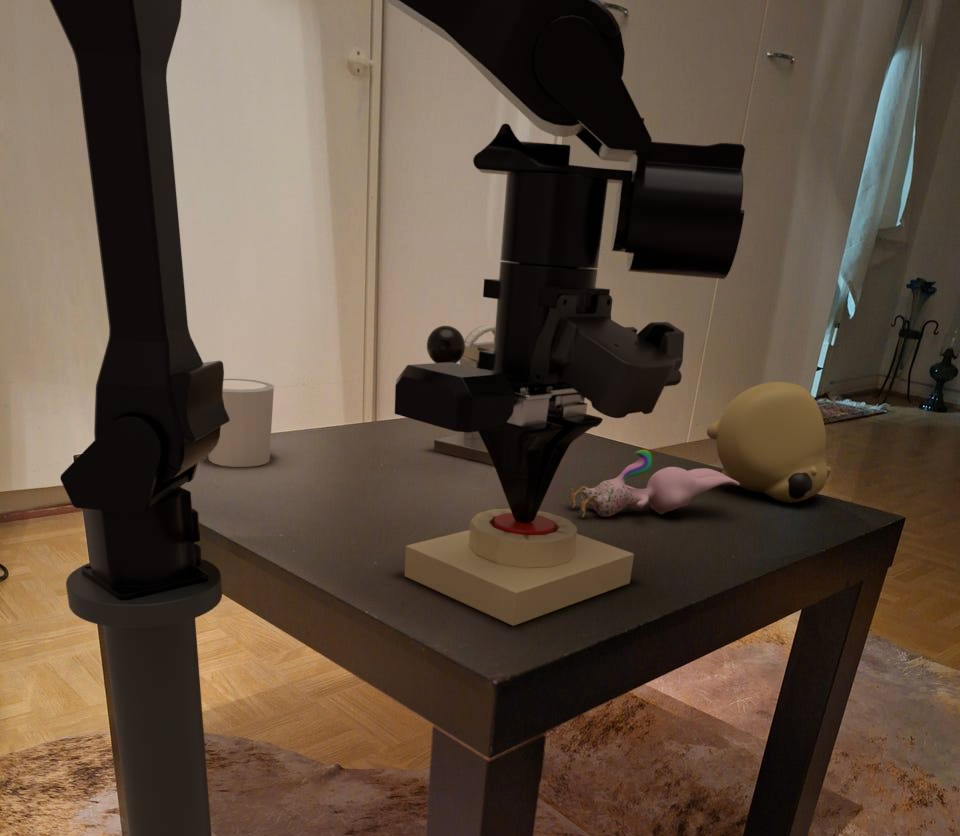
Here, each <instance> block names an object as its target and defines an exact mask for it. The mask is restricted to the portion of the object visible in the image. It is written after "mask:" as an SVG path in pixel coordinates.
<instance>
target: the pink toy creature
mask: <svg viewBox="0 0 960 836" xmlns="http://www.w3.org/2000/svg"><path fill="white" fill-rule="evenodd" d="M634 454H636V455H637V456H638V457H639V459H637V461H635V462H633V463H631V464H629V465H627V466H626V467H625V468H624V469H623V470H622V472H620V473H619V475H618V476H616V477H615V478H612V479H611V478H610V479H606V480H603V481H601V482H600V483H599V484H598V485H596V486H594V487H592V488H590V487H587V486H585V485H582V486H581V487H579V488H578V490H576V491H574V489H573V488H570V490H571V491H572V492H571V494H570V502H569V504H570V505H572V507H571V509H574V508H575V507H576V504H577V503H576V499H577V498H578V495H580V494H583V495H584V496H580V498H581V501H580V510H579V512H582V513H583V514H582V516H581V518H582V519H583V518H584V517H585V515H586V508H587V506H588V507H589V508H590V509H592V510H594V511H595V512H596V514H597V515H598V516H600V517H604V518H608V517H613V515H615V514H617V513H619V512H621V511H622V510H623V509H629V510H632V509H636V508H643V507H644V506H646V505H647V504H648V502H649V507H650V509H652V510H654V511H655V512H656V513H658V514H659V515H663V514H665V513H668V512H671V511H675V510H677V509H679V508H683V507H686V506H687V505H689V503H690V502H691V501H692V499H694V497H695V496H697V495H699V494H702V493H704V492H707V491H708V490H712V489H713V488H716V487H718V486H721V485H723V484H725V483H727V484H732V486H738V487H740V486H739V485H740V483H739V482H737V481H735V480H733V479H731V478H729V477H728V476H726V475H724V474H722V472H720V471H718V470H715V469H711V468H707V467H705V468H703V467H702V468H700V467H699V468H693V469H689V470H686V469H684V468H682V467H679V466H668V467H664V468H661V469H659V470H657V471H656V472H654V473H653V474H652V476H650V478H649V480H648V482H647V484H646V487H645V488H636V487H633V486H630V485H627V484H625V483H626V480H627V479H628V478H632V477H640V476H644V475H645V474H646V473H648V472H649V471H650V470H651V469H652V465H653V460H654V459H653V456H652V454H651V452H650V450H647V449H639V450H637V451H635V452H634ZM584 497H585V499H584Z"/></svg>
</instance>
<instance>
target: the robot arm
mask: <svg viewBox="0 0 960 836" xmlns="http://www.w3.org/2000/svg"><path fill="white" fill-rule="evenodd" d="M384 1H385V2H386V3H389V4H390V5H392V6H393V7H394V8H396V9H398V10H399V11H401V12H402V13H404V14H405V15H406V16H409V17H410V18H411V19H413V20H415V21H416V22H418V23H419V24H420V25H422V26H424V27H425V28H427V29H428V30H430V31H431V32H433V33H435V34H436V35H438V36H439V37H441V38H442V39H443V40H445V41H446V42H448V43H450V44H451V45H452V46H453V47H454V48H455V49H456V50H457V51H458V52H459V53H460V54H461V55H462V56H463V57H465V58H466V59H467V60H468V61H469V62H470V64H472V65H473V67H475V69H476V70H477V71H478V72H479V73H480V74H481V75H483V77H484V78H485V79H486V80H487V81H488V82H489V83H490V84H491V85H492V86H493V87H494V88H495V89H496V90H497V91H498V92H499V93H500V94H501V95H502V96H503V97H504V98H506V100H507V101H508V102H509V103H510V104H512V105H513V106H514V107H515V108H516V109H517V110H518V111H519V112H520V113H521V114H522V115H523V116H524V117H525V118H526V119H527V120H528V121H530V122H531V123H532V124H533V125H534V126H535V127H536V128H538V129H539V130H540V131H542V132H544V133H547V134H549V135H552V136H554V137H559V138H560V137H561V138H568V137H572V136H575V137H576V138H577V139H578V140H579V141H580V142H581V143H582V144H584V145H585V146H586V147H587V148H588V149H589V151H591V152H592V153H593V154H594V155H596V157H598V159H600V160H602V161H606V162H607V161H609V162H623V163H629V164H630V165H629V170H628V169H617V168H604V167H603V168H602V167H592V166H584V165H583V166H582V165H573V164H570V159H571V158H570V157H571V145H570V144H562V143H561V144H560V143H546V142H535V141H521V140H519V138H518V137H517V136H516V135H515V133H514V131H513V129H512V127H511V125H510V124H509V123H503V124H501V126H500V128H499V130H498V132H497V133H496V135H495V137H494V138H493V139H492V140H491V141H490V142H489V143H488V144H486V146H485V147H484V148H483V149H481V150H480V151H479V152H477V153H476V154H475V155H474V156H473V158H472V159H473V160H472V162H473V166H474V167H475V169H477V170H478V171H479V172H480V173H482V174H483V173H484V174H490V175H491V174H492V175H503V176H504V175H505V176H506V181H505V195H504V196H505V197H504V207H503V221H502V233H501V246H500V247H501V249H500V259H499V260H500V262H499V272H498V273H499V275H498V278H484V279H483V289H482V297H483V298H487V299H494V300H496V301H497V302H496V314H495V338H494V337H493V342H494V350H492V351H479V363H478V368H475V367H470V366H466V365H461V364H460V363H452V362H446V363H435V362H432V363H431V362H430V363H418V364H407V365H406V366H405V367H404V369H403V370H402V372H401V373H400V374H399V375H398V376H397V378H396V381H395V386H394V387H395V389H394V390H395V391H394V415H397V416H401V417H404V418H408V419H411V420H413V421H417V422H420V423H421V422H422V423H425V424H428V425H432V426H435V427H439V428H441V429H446V430H450V431H453V432H457V433H458V432H459V433H465V432H477V431H478V432H479V434H480V436H481V438H482V440H483V442H484V444H485V446H486V449H487V451H488V453H489V455H490V457H491V459H492V462H493V464H494V465H493V467H494V469H495V472H496V474H497V478H498V480H499V482H500V485H501V488H502V490H503V493H504V496H505V499H506V501H507V504H508V507H509V509H511V512H512V515H513V517H514V519H515V520H516V521H518V522H521V523H528V522H532V521H534V519H535V517H536V515H537V513H538V511H540V509H541V506H542V503H544V502H543V501H544V499H545V497H546V496H547V493H548V490H549V488H550V486H551V484H552V482H553V479H554V477H555V474H556V473H557V470H558V469H559V467H560V464H561V462H562V461H563V458H564V456H565V455H566V453H567V451H568V449H569V447H570V446H571V444H572V443H573V442H574V441H575V440H577V439H579V438H580V437H581V436H582V435H584V434H586V433H587V432H588V431H590V430H591V429H592V428H597V427H598V426H599V425H601V424H602V422H603V421H604V419H603V417H600V416H596V415H591V414H587V411H588V403H587V402H585V400H588V401H589V402H590V403H591V407H592V408H593V409H594V410H595V411H597V412H598V413H600V414H602V415H603V416H606V417H610V418H613V419H622V418H626V417H627V415H630V414H637V413H642V414H643V415H649V414H651V413H653V411H654V409H655V407H656V405H657V403H658V401H659V399H660V396H661V395H662V393H663V391H664V389H665V387H672V386H677V385H679V384H680V383H681V381H682V378H683V377H682V376H683V375H682V372H681V371H680V370H681V368H682V364H683V362H684V360H683V359H684V346H685V332H684V331H683V330H681V329H679V328H678V327H677V326H674V325H673V324H672V323H671V322H668V321H657V322H656V321H651V322H649V323H648V324H646V325H645V326H644V327H643V328H642V329H640V331H639V332H638V329H637V328H635V326H623V325H621V324H619V323H618V322H616V321H615V320H612V309H613V298H612V296H611V294H610V293H611V289H610V288H602V287H596V285H597V275H598V268H599V259H600V252H601V251H600V250H601V244H602V243H601V242H602V235H603V234H602V233H603V227H604V216H605V209H606V200H607V192H608V184H609V183H610V184H617V193H616V198H615V199H616V200H615V207H614V213H613V223H612V233H611V245H610V250H611V252H617V253H618V252H619V253H620V252H623V253H625V254H627V261H626V263H627V266H626V267H627V271H628V272H633V273H642V274H643V273H645V274H657V275H667V276H681V277H693V278H705V279H706V278H707V279H717V280H725V279H726V278H727V277H728V276H729V273H730V271H731V269H732V266H733V264H734V260H735V257H736V254H737V251H738V247H739V243H740V238H741V235H742V229H743V224H744V218H745V209H742V206H743V205H742V204H743V199H744V198H743V196H744V172H743V166H744V165H743V164H744V159H745V155H746V154H745V153H746V147H745V146H744V144H742V143H732V142H718V143H713V144H709V145H705V144H703V145H701V144H687V143H677V142H676V143H674V142H661V141H653V140H652V137H651V134H650V133H649V130H648V129H647V126H646V125H645V117H642V116H641V115H640V112H639V111H638V108H637V106H636V104H635V102H634V100H633V97H632V96H631V94H630V93H629V90H628V88H627V86H626V84H625V82H624V80H623V75H624V68H625V67H624V66H625V56H626V53H625V52H626V51H625V46H624V41H623V36H622V35H623V34H622V31H621V27H620V24H619V22H618V20H617V19H616V17H615V16H614V14H613V13H612V11H610V10H609V9H608V8H607V7H606V6H605V5H604V4H603V3H602V2H601V1H600V0H384ZM49 2H50V4H51V6H52V9H53V12H54V13H55V16H56V17H57V19H58V22H59V24H60V26H61V28H62V31H63V33H64V34H65V37H66V40H67V41H68V43H69V46H70V48H71V50H72V53H73V55H74V59H75V62H76V69H77V77H78V84H79V93H80V101H81V111H82V117H83V125H84V132H85V141H86V150H87V157H88V158H87V159H88V167H89V173H90V174H89V175H90V180H91V181H90V182H91V183H90V184H91V190H92V191H91V192H92V199H93V206H94V213H95V214H94V215H95V223H96V232H97V239H98V246H99V247H98V248H99V254H100V263H101V272H102V278H103V279H102V280H103V287H104V294H105V303H106V311H107V319H108V327H109V328H108V330H109V331H108V341H107V344H106V348H105V352H104V354H103V359H102V362H101V366H100V368H99V373H98V376H97V379H96V384H95V395H94V396H95V397H94V398H95V400H94V426H93V429H94V430H93V433H94V440H93V441H92V443H90V444H89V446H88V447H86V449H85V450H84V451H83V452H82V453H81V454H80V455H79V456H78V457H77V458H76V459H75V460H74V461H73V462H72V463H71V464H70V465H69V466H68V467H67V468H66V469H65V470H64V471H63V472H62V473H61V474H60V482H61V484H62V486H63V488H64V490H65V492H66V494H67V496H68V498H69V500H70V502H71V503H70V504H72V507H74V508H76V509H83V517H84V525H85V533H86V540H87V549H88V555H89V563H90V565H86V564H85V565H86V566H83V565H82V566H83V567H82V568H81V571H82V574H83V575H84V576H86V577H87V578H88V579H90V580H91V581H93V582H94V583H95V584H97V585H98V586H100V587H101V588H103V589H104V590H105V591H107V592H108V593H110V594H111V595H113V596H114V597H115V598H117V599H118V600H122V601H126V600H131V599H135V598H140V597H144V596H148V595H152V594H157V593H161V592H165V591H169V590H174V589H178V588H182V587H186V586H191V585H195V584H199V583H203V582H207V581H208V574H207V573H206V572H204V571H202V570H201V569H199V568H197V566H200V565H201V563H202V559H203V558H202V547H201V545H198V544H197V543H198V542H200V541H201V532H200V516H199V511H197V510H196V509H195V508H193V505H192V503H193V502H192V491H190V490H187V489H185V488H184V487H182V486H184V485H185V484H187V483H190V482H192V481H193V480H194V478H195V476H196V472H197V469H198V466H199V463H200V462H202V461H203V460H204V459H206V458H207V457H208V455H209V453H210V452H211V451H212V450H213V449H214V447H216V446H217V443H218V440H219V438H220V429H221V426H222V425H224V424H225V423H227V422H229V421H230V419H229V416H228V414H227V412H226V410H225V407H224V402H223V397H222V395H223V379H225V369H224V362H223V361H222V360H214V361H206V362H205V361H204V362H203V359H202V356H201V355H200V353H199V351H198V349H197V347H196V345H195V343H194V340H193V338H192V336H191V333H190V329H189V325H188V323H189V321H188V314H187V313H188V312H187V302H186V300H187V299H186V289H185V277H184V266H183V265H184V264H183V255H182V253H183V252H182V243H181V232H180V231H181V230H180V219H179V210H178V209H179V207H178V196H177V184H176V175H175V163H174V151H173V140H172V139H173V138H172V128H171V117H170V105H169V104H170V103H169V93H168V83H167V74H168V64H169V60H170V57H171V53H172V51H173V47H174V43H175V38H176V36H177V32H178V30H179V26H180V22H181V17H182V5H183V4H182V3H183V0H49ZM479 368H480V369H479ZM484 369H485V370H484ZM488 370H489V371H488ZM493 371H494V372H493ZM521 388H524V390H521V391H520V389H521Z"/></svg>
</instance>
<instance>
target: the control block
mask: <svg viewBox="0 0 960 836" xmlns="http://www.w3.org/2000/svg"><path fill="white" fill-rule="evenodd" d="M506 513H512V512H511V509H510V508H494V509H490V510H485V511H481V512H478V513H476V515H474V517H472V519H470V525H469V526H470V527H469V529H468V530H464V531H460V532H456V533H451V534H448V535H447V534H446V535H443V536H439V537H435V538H432V539H428V540H422V541H419V542H415V543H411V544H407V545H405V555H404V556H405V557H404V577H405V578H408V579H410V580H412V581H415V582H417V583H419V584H421V585H423V586H425V587H426V588H430V589H432V590H434V591H436V592H438V593H440V594H443V595H445V596H446V597H449V598H451V599H453V600H455V601H458V602H460V603H462V604H464V605H466V606H469V607H471V608H473V609H475V610H476V611H479V612H482V613H484V614H486V615H488V616H490V617H492V618H495V619H497V620H499V621H501V622H503V623H506V624H508V625H510V626H512V627H514V626H517V625H519V624H522V623H526V622H528V621H531V620H533V619H536V618H539V617H541V616H544V615H547V614H550V613H553V612H555V611H558V610H560V609H563V608H566V607H569V606H572V605H574V604H578V603H579V602H583V601H585V600H588V599H590V598H593V597H596V596H599V595H601V594H604V593H607V592H609V591H612V590H615V589H618V588H621V587H624V586H626V585H629V584H630V583H631V579H632V571H633V565H634V564H633V563H634V558H635V553H634V552H631V551H628V550H624V549H623V548H622V549H621V548H619V547H617V546H613V545H611V544H608V543H604V542H603V541H599V540H596V539H593V538H591V537H587V536H585V535H582V534H579V533H578V527H577V526H576V525H575V524H574V523H573V522H571V521H570V520H569V519H567V518H565V517H562V516H559V515H556V514H554V513H551V512H547V511H541V510H538V513H537V515H540V516H543V517H546V518H548V519H550V520H552V521H553V522H554V525H555V526H554V532H553V533H550V534H546V535H521V534H514V533H507V532H504V531H501V530H499V529H496V528H494V520H495V518H496V517H497V516H498V515H501V514H506Z"/></svg>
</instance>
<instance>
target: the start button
mask: <svg viewBox="0 0 960 836" xmlns="http://www.w3.org/2000/svg"><path fill="white" fill-rule="evenodd" d="M554 526H555V525H554V522H553V521H552V520H550V519H548V518H546V517H543V516H540V515H536V517H535V519H534V521H532V522H528V523H521V522H518V521H516V520H515V519H514V517H513V515H512V513H506V514H501V515H498V516H497V517H496V518H495V520H494V528H496V529H499V530H501V531H504V532H507V533H514V534H521V535H546V534H550V533H553V532H554Z"/></svg>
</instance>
